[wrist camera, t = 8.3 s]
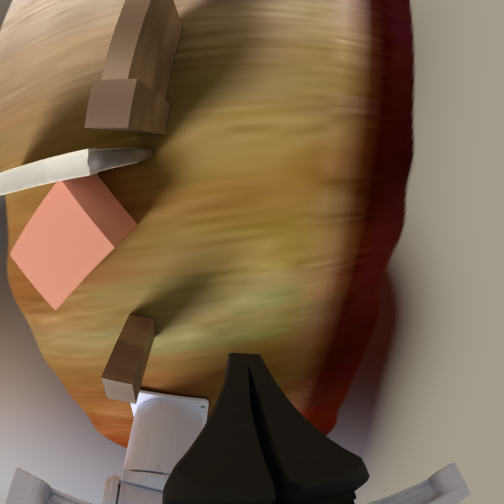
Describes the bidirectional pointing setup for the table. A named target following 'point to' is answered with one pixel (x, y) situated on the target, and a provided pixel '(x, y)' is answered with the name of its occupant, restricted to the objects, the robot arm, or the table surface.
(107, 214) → the block
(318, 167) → the table surface
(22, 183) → the door
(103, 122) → the frame
